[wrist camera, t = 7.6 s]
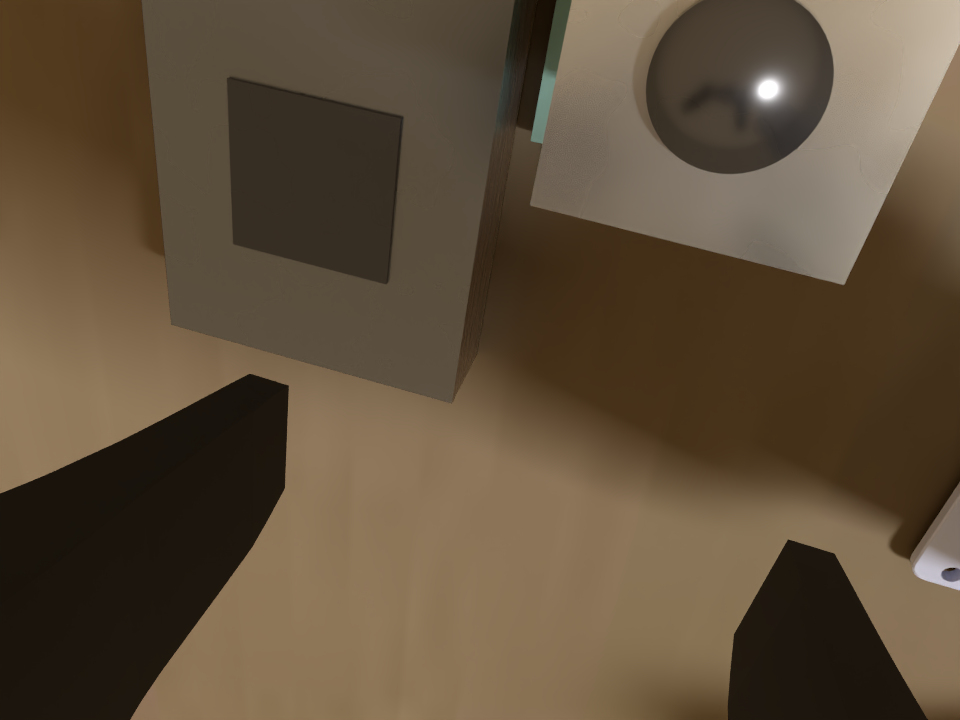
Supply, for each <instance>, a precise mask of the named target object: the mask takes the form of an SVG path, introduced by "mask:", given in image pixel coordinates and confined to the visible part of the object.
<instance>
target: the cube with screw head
mask: <svg viewBox="0 0 960 720" xmlns="http://www.w3.org/2000/svg"><path fill="white" fill-rule="evenodd" d="M959 43H960V0H572V2H571V7H570V12H569V17H568V21H567V26H566V31H565V36H564V41H563V46H562V51H561V56H560V60H559V65H558V70H557V75H556V80H555V85H554V90H553V95H552V99H551V104H550V109H549V114H548V119H547V124H546V129H545V134H544V138H543V143H542V148H541V153H540V158H539V163H538V168H537V172H536V177H535V182H534V187H533V192H532V197H531V202H530V206H534V207H538V208H542V209H546V210H550V211H554V212H558V213H562V214H566V215H570V216H574V217H578V218H581V219H585V220H589V221H593V222H597V223H601V224H605V225H609V226H613V227H617V228H621V229H625V230H629V231H633V232H637V233H641V234H645V235H648V236H652V237H656V238H660V239H664V240H668V241H672V242H676V243H680V244H684V245H688V246H692V247H696V248H700V249H704V250H708V251H712V252H715V253H719V254H723V255H727V256H731V257H735V258H739V259H743V260H747V261H751V262H755V263H759V264H763V265H767V266H771V267H775V268H779V269H782V270H786V271H790V272H794V273H798V274H802V275H806V276H810V277H814V278H818V279H822V280H826V281H830V282H834V283H838V284H842V285H844V284H845V282H846V280H847V278H848V276H849V274H850V272H851V269H852V267H853V265H854V263H855V261H856V259H857V257H858V255H859V253H860V251H861V249H862V246H863V244H864V242H865V240H866V238H867V236H868V234H869V232H870V230H871V228H872V226H873V223H874V221H875V219H876V217H877V215H878V213H879V211H880V209H881V207H882V205H883V203H884V200H885V198H886V196H887V194H888V192H889V190H890V188H891V186H892V184H893V182H894V180H895V177H896V175H897V173H898V171H899V169H900V167H901V165H902V163H903V161H904V159H905V156H906V154H907V152H908V150H909V148H910V146H911V144H912V142H913V140H914V138H915V136H916V133H917V131H918V129H919V127H920V125H921V123H922V121H923V119H924V117H925V115H926V113H927V110H928V108H929V106H930V104H931V102H932V100H933V98H934V96H935V94H936V92H937V90H938V87H939V85H940V83H941V81H942V79H943V77H944V75H945V73H946V71H947V69H948V67H949V64H950V62H951V60H952V58H953V56H954V54H955V52H956V50H957V48H958V46H959Z"/></svg>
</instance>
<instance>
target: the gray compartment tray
mask: <svg viewBox="0 0 960 720" xmlns="http://www.w3.org/2000/svg"><path fill="white" fill-rule="evenodd" d="M141 1H142V12H143V23H144V33H145V44H146V55H147V66H148V77H149V88H150V99H151V110H152V121H153V131H154V142H155V153H156V164H157V175H158V186H159V197H160V208H161V219H162V229H163V240H164V251H165V262H166V273H167V284H168V295H169V306H170V317H171V325H174V326H178V327H181V328H185V329H189V330H192V331H196V332H199V333H203V334H206V335H210V336H214V337H217V338H221V339H224V340H228V341H231V342H235V343H238V344H242V345H246V346H249V347H253V348H256V349H260V350H263V351H267V352H270V353H274V354H278V355H281V356H285V357H288V358H292V359H295V360H299V361H303V362H306V363H310V364H313V365H317V366H320V367H324V368H327V369H331V370H335V371H338V372H342V373H345V374H349V375H352V376H356V377H359V378H363V379H367V380H370V381H374V382H377V383H381V384H384V385H388V386H391V387H395V388H399V389H402V390H406V391H409V392H413V393H416V394H420V395H424V396H427V397H431V398H434V399H438V400H441V401H445V402H448V403H452V402H453V400H454V398H455V396H456V394H457V392H458V390H459V388H460V386H461V384H462V382H463V380H464V378H465V376H466V374H467V373H468V371H469V369H470V367H471V365H472V363H473V361H474V359H475V357H476V355H477V351H478V345H479V339H480V333H481V327H482V321H483V316H484V310H485V304H486V298H487V292H488V286H489V281H490V275H491V269H492V263H493V257H494V251H495V245H496V240H497V234H498V228H499V222H500V216H501V210H502V205H503V199H504V193H505V187H506V181H507V175H508V169H509V164H510V158H511V152H512V146H513V140H514V134H515V129H516V123H517V117H518V111H519V105H520V99H521V94H522V88H523V82H524V76H525V70H526V64H527V58H528V53H529V47H530V41H531V35H532V29H533V23H534V18H535V12H536V6H537V0H141Z"/></svg>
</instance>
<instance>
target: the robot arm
mask: <svg viewBox="0 0 960 720" xmlns="http://www.w3.org/2000/svg"><path fill="white" fill-rule="evenodd" d="M288 390H289V386H288V385H285V384H281V383H278V382H275V381H272V380H268V379H265V378H262V377H259V376H255V375H252V374H249V375H247V376H245V377H243V378H241V379H239V380H237V381H235V382H233V383H231V384H229V385H227V386H225V387H223V388H221V389H220V390H218V391H216V392H214V393H212V394H210V395H208V396H206V397H205V398H203V399H201V400H199V401H197V402H195V403H193V404H191V405H189V406H188V407H186V408H184V409H182V410H180V411H178V412H176V413H174V414H172V415H170V416H169V417H167V418H165V419H163V420H161V421H159V422H157V423H155V424H153V425H151V426H149V427H147V428H145V429H143V430H141V431H139V432H137V433H135V434H133V435H131V436H129V437H127V438H125V439H123V440H121V441H119V442H117V443H115V444H113V445H111V446H109V447H106V448H104V449H102V450H100V451H98V452H95V453H93V454H91V455H89V456H87V457H84V458H82V459H80V460H78V461H76V462H74V463H71V464H69V465H67V466H65V467H63V468H60V469H58V470H56V471H54V472H52V473H49V474H47V475H45V476H43V477H40V478H38V479H35V480H33V481H31V482H28V483H26V484H23V485H21V486H18V487H16V488H13V489H11V490H8V491H6V492H3V493H0V720H130V719H131V717H132V716H133V714H134V712H135V711H136V709H137V707H138V706H139V704H140V702H141V701H142V699H143V698H144V696H145V695H146V693H147V692H148V690H149V689H150V687H151V686H152V684H153V683H154V681H155V680H156V678H157V677H158V675H159V674H160V673H161V671H162V670H163V668H164V667H165V666H166V664H167V663H168V662H169V660H170V659H171V657H172V656H173V655H174V653H175V652H176V651H177V649H178V648H179V647H180V645H181V644H182V643H183V641H184V640H185V638H186V637H187V636H188V634H189V633H190V632H191V630H192V629H193V628H194V626H195V625H196V624H197V622H198V621H199V619H200V618H201V617H202V615H203V614H204V613H205V611H206V610H207V609H208V607H209V606H210V605H211V603H212V602H213V600H214V599H215V598H216V596H217V595H218V594H219V592H220V591H221V590H222V588H223V587H224V585H225V584H226V583H227V581H228V580H229V579H230V577H231V576H232V574H233V573H234V572H235V570H236V569H237V568H238V566H239V565H240V563H241V562H242V561H243V559H244V558H245V556H246V555H247V554H248V552H249V551H250V549H251V548H252V547H253V545H254V543H255V541H256V540H257V538H258V536H259V534H260V533H261V531H262V529H263V527H264V526H265V524H266V522H267V520H268V518H269V517H270V515H271V513H272V511H273V509H274V507H275V505H276V504H277V502H278V500H279V498H280V496H281V494H282V492H283V491H284V489H285V468H286V442H287V416H288ZM910 562H911V566H912V570H913V573H914V574H915V575H916V576H917V577H918V578H921V579H923V580H926V581H929V582H933V583H936V584H939V585H943V586H946V587H950V588H953V589H957V590H960V482H959V484H958V485H957V487H956V488H955V490H954V491H953V493H952V494H951V496H950V497H949V499H948V500H947V502H946V503H945V505H944V506H943V508H942V509H941V511H940V512H939V514H938V515H937V517H936V518H935V520H934V521H933V523H932V525H931V526H930V528H929V529H928V531H927V532H926V534H925V535H924V537H923V538H922V540H921V541H920V543H919V544H918V546H917V547H916V549H915V550H914V552H913V553H912V555H911V558H910ZM947 568H957V569H955V570H952V571H944V570H945V569H947ZM728 720H928V719H927V718H926V716H925V715H924V713H923V711H922V709H921V708H920V706H919V704H918V703H917V701H916V699H915V698H914V696H913V694H912V693H911V691H910V689H909V687H908V686H907V684H906V682H905V681H904V679H903V677H902V675H901V674H900V672H899V670H898V669H897V667H896V665H895V663H894V661H893V660H892V658H891V656H890V654H889V653H888V651H887V649H886V647H885V645H884V644H883V642H882V640H881V638H880V636H879V635H878V633H877V631H876V629H875V627H874V625H873V624H872V622H871V620H870V618H869V616H868V614H867V613H866V611H865V609H864V607H863V605H862V603H861V601H860V600H859V598H858V596H857V594H856V592H855V590H854V589H853V587H852V585H851V583H850V581H849V579H848V577H847V576H846V574H845V572H844V570H843V568H842V566H841V565H840V563H839V561H838V559H837V557H836V556H835V554H834V553H830V552H827V551H824V550H821V549H817V548H814V547H811V546H808V545H804V544H801V543H798V542H795V541H791V540H788V541H787V542H786V544H785V546H784V548H783V549H782V551H781V553H780V555H779V556H778V558H777V560H776V562H775V563H774V565H773V567H772V569H771V570H770V572H769V574H768V576H767V577H766V579H765V581H764V583H763V584H762V586H761V588H760V590H759V592H758V593H757V595H756V597H755V599H754V600H753V602H752V604H751V606H750V607H749V609H748V611H747V613H746V614H745V616H744V618H743V620H742V621H741V623H740V625H739V627H738V628H737V630H736V632H735V634H734V641H733V651H732V661H731V671H730V684H729V697H728Z"/></svg>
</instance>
